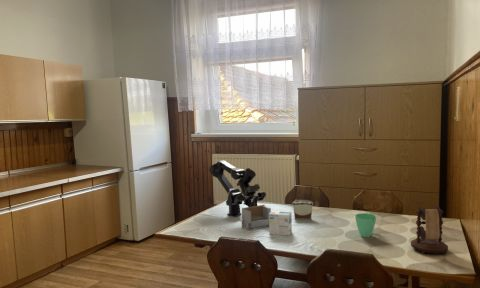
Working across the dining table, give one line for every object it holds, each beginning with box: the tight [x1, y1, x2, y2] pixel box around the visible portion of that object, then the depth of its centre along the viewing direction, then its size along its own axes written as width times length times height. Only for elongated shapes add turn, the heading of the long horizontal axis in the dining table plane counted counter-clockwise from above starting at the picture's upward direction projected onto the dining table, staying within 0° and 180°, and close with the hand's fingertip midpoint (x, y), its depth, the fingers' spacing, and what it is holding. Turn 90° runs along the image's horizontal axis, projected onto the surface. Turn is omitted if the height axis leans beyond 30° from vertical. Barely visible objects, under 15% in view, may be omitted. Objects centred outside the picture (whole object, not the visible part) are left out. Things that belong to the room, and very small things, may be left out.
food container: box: [291, 199, 315, 220], centre depth 220 cm, size 12×6×10 cm, turn 84°
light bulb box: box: [268, 210, 293, 236], centre depth 194 cm, size 11×7×11 cm, turn 71°
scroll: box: [410, 205, 449, 254], centre depth 166 cm, size 15×15×20 cm
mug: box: [355, 212, 377, 238], centre depth 189 cm, size 15×10×10 cm
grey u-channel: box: [241, 205, 272, 231], centre depth 205 cm, size 6×16×10 cm, turn 118°
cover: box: [241, 204, 266, 221], centre depth 209 cm, size 1×14×10 cm, turn 117°
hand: (255, 210), depth 210 cm, fingers closed on cover
